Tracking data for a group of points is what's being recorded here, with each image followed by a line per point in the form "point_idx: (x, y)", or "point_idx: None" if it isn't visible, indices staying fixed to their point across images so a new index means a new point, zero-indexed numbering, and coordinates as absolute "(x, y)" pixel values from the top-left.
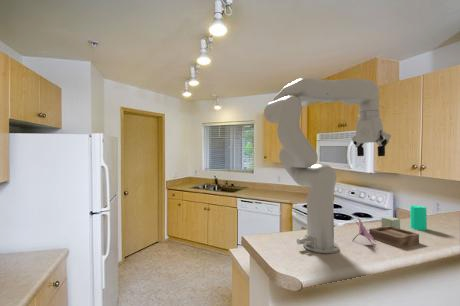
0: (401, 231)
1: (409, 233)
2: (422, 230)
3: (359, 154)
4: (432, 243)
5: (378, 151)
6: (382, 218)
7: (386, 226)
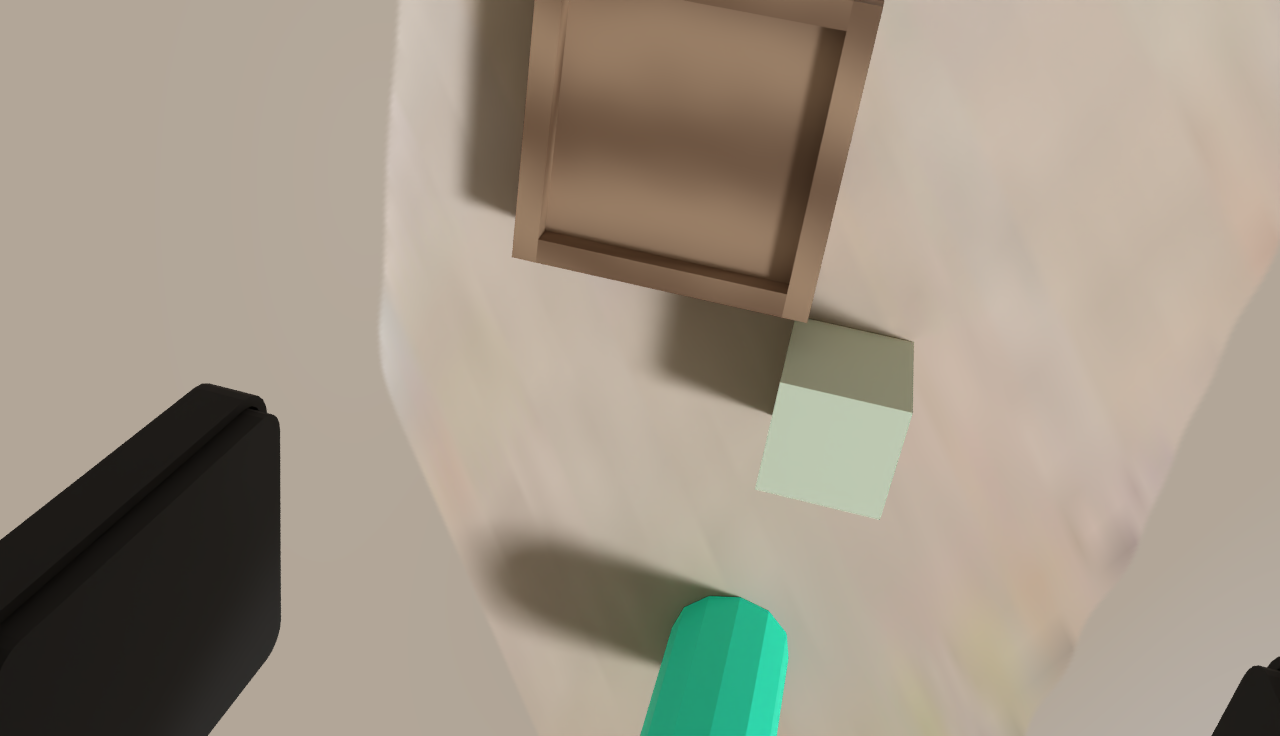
0: (663, 259)
1: (587, 244)
2: (685, 607)
3: (1261, 732)
4: (484, 307)
5: (120, 488)
6: (901, 406)
7: (809, 271)
